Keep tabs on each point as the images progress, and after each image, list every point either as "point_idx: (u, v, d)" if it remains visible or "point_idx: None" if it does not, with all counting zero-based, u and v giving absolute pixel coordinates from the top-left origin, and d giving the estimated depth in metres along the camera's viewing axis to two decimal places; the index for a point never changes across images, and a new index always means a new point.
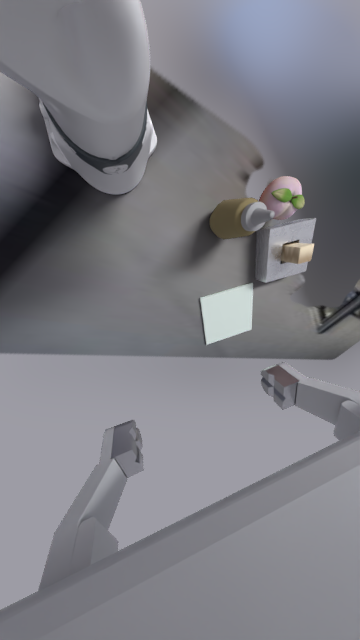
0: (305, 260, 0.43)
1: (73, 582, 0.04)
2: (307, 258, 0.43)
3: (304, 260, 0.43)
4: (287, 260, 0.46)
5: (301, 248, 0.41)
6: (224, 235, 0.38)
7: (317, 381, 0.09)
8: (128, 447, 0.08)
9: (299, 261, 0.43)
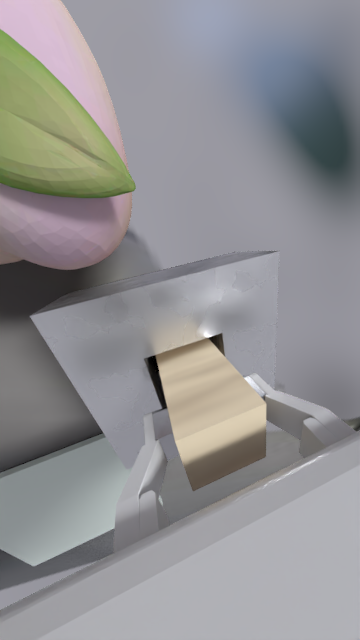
0: (234, 467, 0.08)
1: (73, 582, 0.04)
2: (243, 458, 0.08)
3: (228, 469, 0.08)
4: None
5: (183, 441, 0.07)
6: None
7: (284, 394, 0.08)
8: (170, 430, 0.08)
9: (197, 481, 0.08)
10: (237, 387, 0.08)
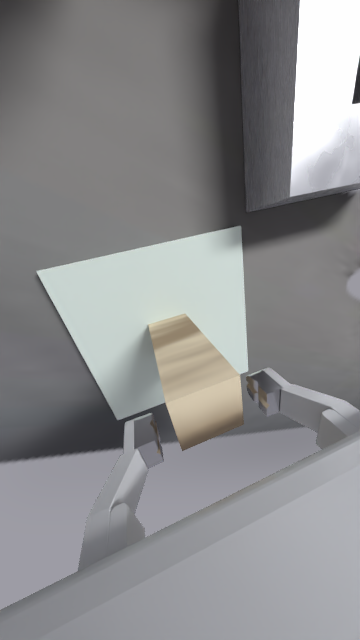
0: (216, 431, 0.10)
1: (73, 582, 0.04)
2: (224, 424, 0.10)
3: (211, 433, 0.10)
4: None
5: (172, 404, 0.08)
6: None
7: (300, 388, 0.09)
8: (150, 438, 0.08)
9: (186, 442, 0.10)
10: (218, 365, 0.10)
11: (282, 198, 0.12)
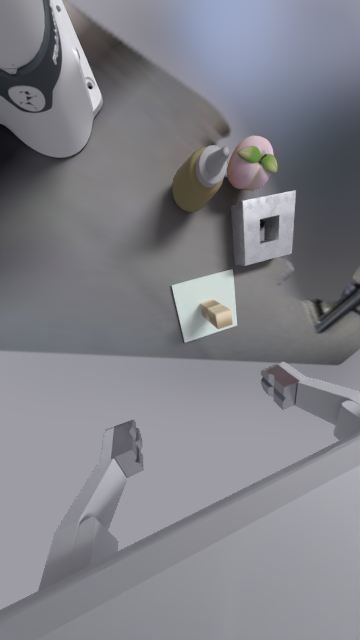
0: (225, 325, 0.41)
1: (73, 582, 0.04)
2: (227, 323, 0.41)
3: (224, 325, 0.41)
4: (211, 322, 0.44)
5: (217, 315, 0.39)
6: (186, 202, 0.33)
7: (317, 381, 0.09)
8: (128, 447, 0.08)
9: (218, 326, 0.41)
10: (226, 308, 0.41)
11: None
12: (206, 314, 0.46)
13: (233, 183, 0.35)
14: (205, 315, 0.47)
